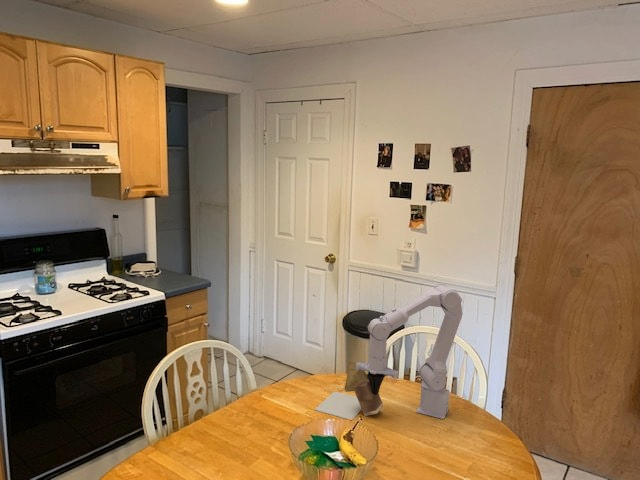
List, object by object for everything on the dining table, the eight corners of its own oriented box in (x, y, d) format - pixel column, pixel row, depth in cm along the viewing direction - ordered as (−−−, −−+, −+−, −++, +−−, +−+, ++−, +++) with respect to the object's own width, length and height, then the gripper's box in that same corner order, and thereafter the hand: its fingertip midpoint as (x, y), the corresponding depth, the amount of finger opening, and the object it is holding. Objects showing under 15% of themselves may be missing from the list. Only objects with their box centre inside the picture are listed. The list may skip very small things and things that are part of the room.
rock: (372, 375, 189) (347, 370, 190) (375, 364, 183) (349, 359, 184) (368, 401, 182) (342, 395, 183) (371, 390, 176) (344, 384, 177)
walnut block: (383, 405, 165) (372, 378, 166) (377, 413, 160) (365, 384, 161) (371, 408, 167) (360, 381, 168) (364, 416, 162) (353, 388, 163)
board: (369, 400, 173) (369, 400, 173) (351, 420, 159) (351, 419, 159) (334, 392, 179) (334, 391, 179) (314, 410, 165) (314, 409, 165)
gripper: (352, 354, 160) (351, 393, 162) (394, 363, 154) (392, 403, 156) (360, 348, 167) (359, 385, 168) (401, 356, 160) (399, 394, 162)
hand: (375, 393), depth 162 cm, fingers closed
